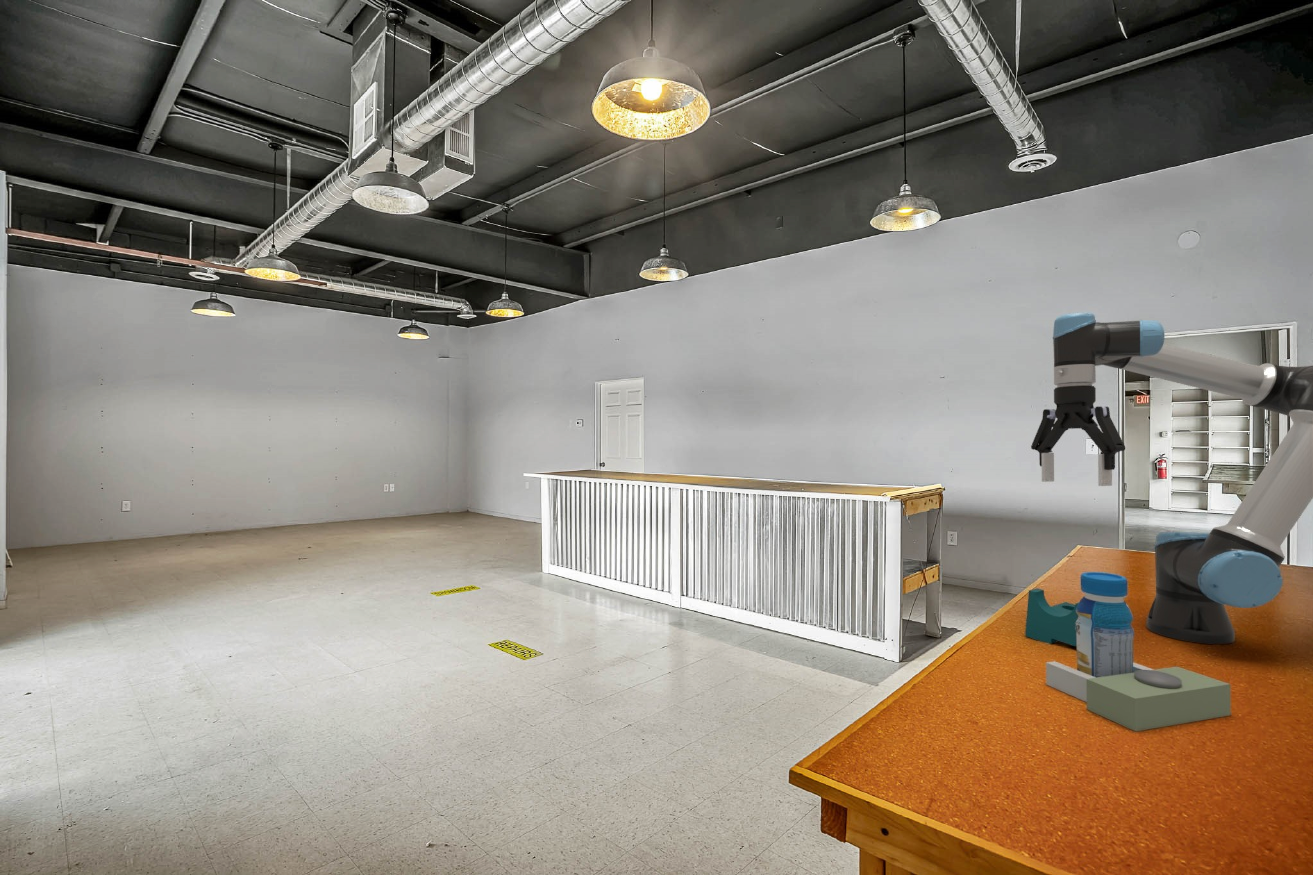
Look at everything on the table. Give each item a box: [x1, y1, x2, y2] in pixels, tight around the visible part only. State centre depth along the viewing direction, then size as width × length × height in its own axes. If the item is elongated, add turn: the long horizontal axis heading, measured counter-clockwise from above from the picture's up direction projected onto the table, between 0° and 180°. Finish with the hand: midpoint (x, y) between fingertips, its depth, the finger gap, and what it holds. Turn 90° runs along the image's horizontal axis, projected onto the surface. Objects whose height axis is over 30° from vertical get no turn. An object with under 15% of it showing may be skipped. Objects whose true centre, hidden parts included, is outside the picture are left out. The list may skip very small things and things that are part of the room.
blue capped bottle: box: [1075, 571, 1135, 678], centre depth 110 cm, size 8×8×20 cm
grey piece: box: [1045, 661, 1232, 732], centre depth 105 cm, size 20×18×6 cm
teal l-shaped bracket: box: [1024, 587, 1080, 648], centre depth 138 cm, size 18×11×10 cm, turn 123°
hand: (1075, 483), depth 134 cm, fingers open, 13 cm apart
